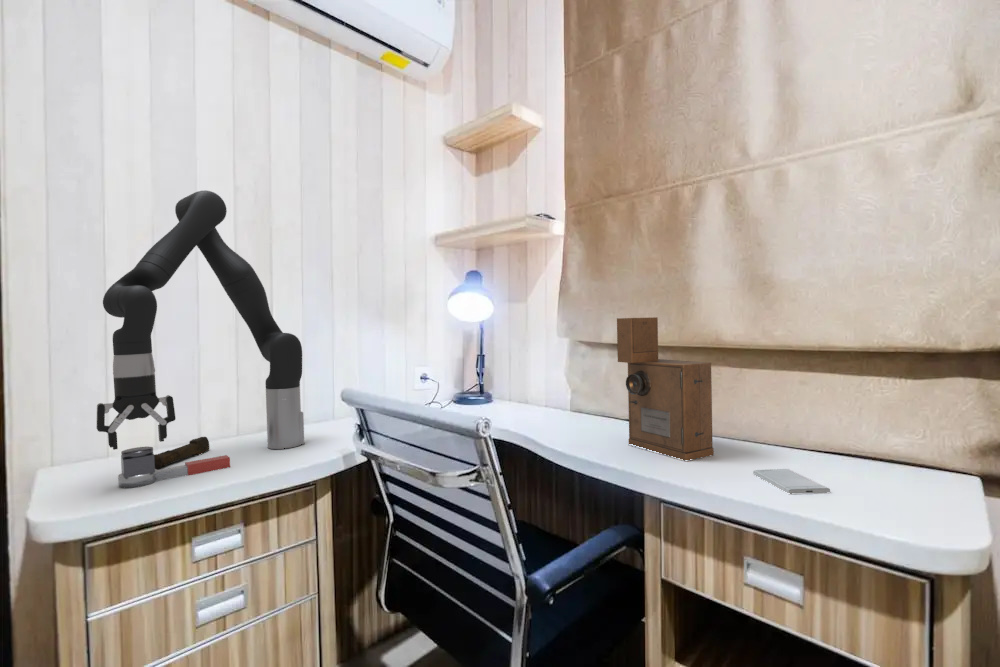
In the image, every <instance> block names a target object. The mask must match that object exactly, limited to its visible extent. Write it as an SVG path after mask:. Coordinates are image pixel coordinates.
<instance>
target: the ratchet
mask: <svg viewBox="0 0 1000 667" xmlns="http://www.w3.org/2000/svg"><path fill="white" fill-rule="evenodd" d="M184 463H185V464H183V465H177V466H172V467H167V468H165V467H164V468H160V469H155V472H154V473H149V474H143V475H138V476H132V477H127V478H124V477H123V475H122V472H121V473H120V474H118V475H117V477H118V488H119V489H125V490H126V489H136V488H137V489H138V488H141V487H145V486H149V485H152V484H154V483H156V482H158V481H165V480H169V479H174V478H180V477H185V475H186V476H192V475H193V476H194V475H196V474H197V475H198V474H203V473H209V472H211V471H213V470H214V471H218V469H219V470H222V469H223V468H224V469H228V468H227V467H229V468H231V457H230V456H229V455H227V454H225V455H220V456H213V457H208V458H203V459H197V460H192V461H186V462H184ZM224 469H223V470H224Z"/></svg>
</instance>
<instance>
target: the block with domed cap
mask: <svg viewBox="0 0 1000 667" xmlns="http://www.w3.org/2000/svg"><path fill="white" fill-rule="evenodd" d="M154 455H155V454H154V446H140V447H138V446H137V447H132V448H128V449H124V450H122V451H121V454H120V461H121V462H120V463H121V464H120V466H121V473H122V475H123V477H124V478H127V477H132V476H138V475H143V474H149V473H154V472H155V460H154Z"/></svg>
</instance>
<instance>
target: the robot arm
mask: <svg viewBox="0 0 1000 667" xmlns="http://www.w3.org/2000/svg"><path fill="white" fill-rule="evenodd" d="M174 209H175V210H174V211H175V216H176V218H177V221H178V223H177V224H176V225H175V226H174V227H173V228H172V229H171V230H169V231H168V232H167V233H166V234H165V235H164V236H163V237H161V238H160V239H159V240H158V241H157V242H156V243H154V245H152V246H151V248H149V249H148V250H147V252H146V253H145V254H144V255H143V257H141V259H140V260H139V261H138V262H137V264H136V265H135V266H134V268H132V269H131V270H130V271H128V272H126V274H124V275H123V276H122V277H120V278H118V280H117V281H115V282H114V283H113V284H112V285H111V286H110V287H109V288H108V289H107V290H106V291H105V293H104V296H103V300H102V306H103V309H104V310H105V311H106V313H107V314H109V315H110V316H112V317H116V318H123V323H122V326H121V327H120V328H118V329H116V330H115V331H114V332H113V333H112V350H113V360H112V375H113V390H114V400H113V402H112V403H102V402H100V403H98V404H97V405H96V429H97V432H99V433H106V434H107V438H108V440H107V441H108V446H109V447H110V448H112V450H118V449H119V448H118V433H117V431H116V430H117V429H118V428H119V427H120V425H121V424H123V423H124V421H125V420H129V421H131V420H137V419H145V418H148V417H149V416H151V417H152V418H153V419H154V420H155V421H156V422H157V423H158V425H157V429H158V442H159V443H160V442H161V443H162V442H164V441H165V439H167V437H168V428H167V425H168V424H170V423H171V422H175V421H176V411H175V403H174V397H173V396H172V395H170V394H167V395H166V396H162V397H158V396H157V389H156V388H157V387H156V373H155V372H156V367H155V361H154V355H153V346H152V345H153V344H152V333H153V330H154V326H155V321H156V316H157V311H158V301H157V297H156V296H155V293H154V292H153V291H157V290H160V289H162V288H163V287H165V286H166V284H167V283H169V281H170V279H171V278H172V277H173V276H174V275H175V273H176V272H177V271H178V270H179V267H180V266H182V264H183V262H184V261H185V260H186V259H187V257H188V256H189V255H190V254H191V252H192V251H193V250H194V249H195V248H196V247H197V248H198V249H199V251H200V252H201V253H202V256H203V257H204V258H205V260H206V261H207V264H208V265H209V267H210V268H211V269H212V271H213V273H214V274H215V276H216V277H217V279H218V281H219V283H220V284H221V286H222V288H223V290H224V291H225V293H226V295H227V297H228V298H229V299H230V301H231V302H232V304H233V305H234V307H235V308H236V310H237V312H238V313H239V315H240V317H241V318H242V319H243V321H244V322H245V324H246V325H247V327H248V329H249V331H250V332H251V335H252V336H253V338H254V340H255V343H256V346H257V348H258V349H259V350H258V351H259V352H260V354H261V355H262V357H263V358H264V359H265V361H267V362H269V374H268V375H267V378H266V379H265V407H266V408H265V409H266V431H267V433H266V434H267V435H266V436H267V437H266V438H267V439H266V442H267V448H268V449H272V450H282V449H283V450H285V449H290V448H296V447H298V446H301V444H302V445H304V444H305V426H304V425H305V422H304V421H305V420H304V412H303V411H301V409H302V407H301V379H302V377H303V376H302V375H303V346H302V343H301V341H300V339H299V338H298V336H296V335H295V334H293V333H291V332H283V330H281V328H280V327H279V325H278V324H277V322H276V321H275V319H274V317H273V315H272V313H271V310H270V309H271V308H270V306H269V300H268V296H267V293H266V289H265V287H264V285H263V283H262V281H261V280H260V278H259V276H258V273H256V271H255V269H254V268H253V266H252V265H251V264H250V263H249V262H248V261H247V260H246V259H244V258H243V257H242V256H241V255H239V253H236V252H235V251H234V250H233V249H232V248H231V247H229V246H228V244H227V243H226V242H225V241H224V239H223V238H222V237H221V234H220V233H219V231H218V230H217V226H218V225H220V224H221V223H222V222H223V221H224V220H225V219H226V217H227V212H228V211H227V205H226V203H225V201H224V200H223V198H222V197H221V196H220V195H219V194H218V193H216V192H214V191H212V190H200V191H195V192H193V193H191V194H189V195H187V196H186V197H183V198H181V199H180V200H178V202H176V204H175V207H174ZM159 403H161V404H162V405H163V406H164V407H166V414H167V415H166V417H162V415H160V414H159V413H158V412H157V411H156V410H155V409H156V407H157V406H158V405H159ZM111 409H114V410H115V411H116V412H117V413H118V414H117V415H116V416H115V417H114V418H113V420H112V421H111V423H110V424H109V425H105V423H106V422H105V421H106V419H105V418H106V415H105V414H109V412H110V410H111ZM284 448H285V449H284Z"/></svg>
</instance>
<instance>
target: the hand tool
mask: <svg viewBox="0 0 1000 667" xmlns="http://www.w3.org/2000/svg"><path fill="white" fill-rule="evenodd" d="M207 450H208V451H209V450H210V441H209V439H208V437H206V436H201V437H200V436H199V437H197V438H193V439H191V440H190V441H189V443H188V444H187V443H186V444H185V445H182V446H180V447H176V448H173V449H171V450H170V449H168V450H165V451H163V452H160V453H158V454H154V460H155V469H156V470H160V469H162V468H165V467H166V465H170V464H172V463H175V462H178V461H180V460H183V459H186V458H189V457H191V456H192V455H197V456H200V455H199V454H201V453H203V454H205V453H206V452H205V451H207ZM208 451H207V452H208ZM204 452H205V453H204ZM201 455H202V454H201ZM192 457H193V456H192Z"/></svg>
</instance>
